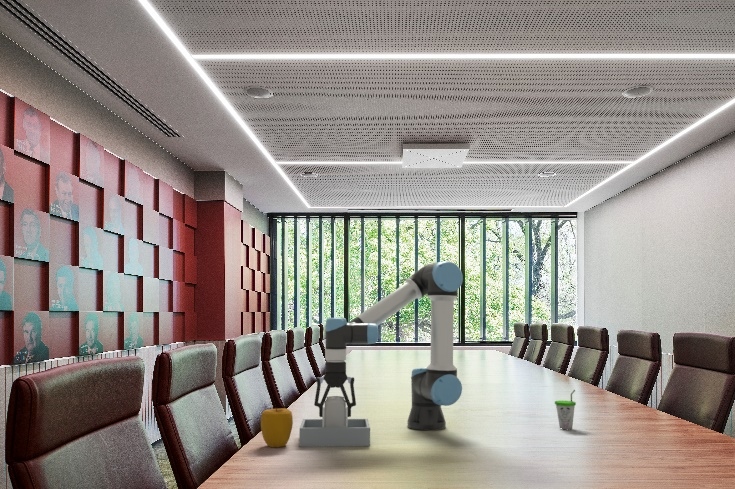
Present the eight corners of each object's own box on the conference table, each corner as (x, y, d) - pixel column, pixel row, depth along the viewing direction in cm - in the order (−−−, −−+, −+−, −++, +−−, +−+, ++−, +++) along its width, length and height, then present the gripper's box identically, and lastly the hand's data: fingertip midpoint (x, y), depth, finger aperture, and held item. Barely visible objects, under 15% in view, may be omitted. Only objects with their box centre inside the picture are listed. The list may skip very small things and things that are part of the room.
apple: (280, 441, 217) (280, 403, 219) (299, 445, 210) (299, 407, 211) (253, 445, 210) (254, 407, 211) (272, 450, 202) (273, 410, 203)
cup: (554, 429, 238) (553, 390, 240) (556, 426, 246) (555, 388, 247) (575, 431, 236) (574, 391, 237) (577, 427, 243) (575, 389, 244)
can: (342, 433, 214) (342, 398, 215) (321, 432, 215) (322, 397, 217) (347, 429, 221) (347, 395, 223) (327, 428, 223) (327, 394, 224)
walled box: (367, 435, 227) (367, 418, 228) (370, 445, 210) (370, 427, 210) (302, 435, 226) (302, 419, 227) (299, 446, 209) (299, 428, 209)
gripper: (363, 360, 225) (363, 424, 223) (307, 360, 224) (306, 424, 222) (364, 361, 218) (364, 428, 215) (306, 361, 217) (305, 428, 214)
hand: (335, 426), depth 219 cm, fingers closed on can, 7 cm apart
